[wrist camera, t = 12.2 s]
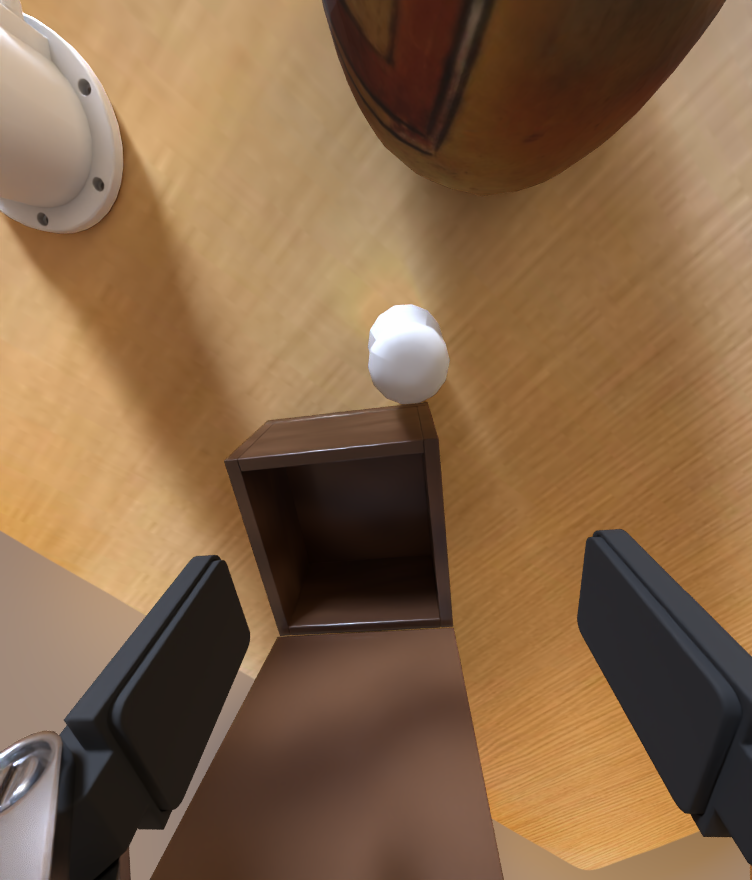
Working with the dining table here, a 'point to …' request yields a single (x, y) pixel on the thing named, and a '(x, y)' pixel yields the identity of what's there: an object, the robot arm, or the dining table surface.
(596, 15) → the ceramic pitcher
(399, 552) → the chest
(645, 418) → the dining table surface
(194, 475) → the dining table surface
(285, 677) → the chest lid
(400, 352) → the salt shaker
